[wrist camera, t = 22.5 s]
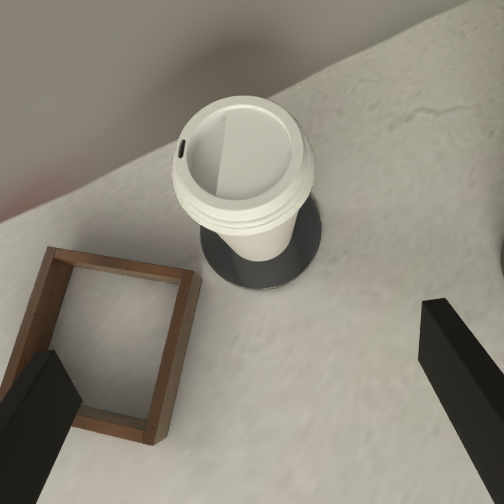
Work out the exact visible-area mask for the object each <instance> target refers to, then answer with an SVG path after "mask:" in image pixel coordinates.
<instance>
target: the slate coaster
mask: <svg viewBox="0 0 504 504" xmlns="http://www.w3.org/2000/svg"><path fill="white" fill-rule="evenodd" d="M320 239H321V222H320V217H319V214H318V211H317V208H316V206H315V204H314V202H313V201H312V199H311V198H310V197H309V195H308V197H307V199H306V201H305V202H304V204H303V205H302V206H301V208H300V209H299V210H298V214H297V218H296V221H295V225H294V229H293V233H292V236H291V239H290V242H289V244H288V246H287V247H286V248H285V250H284V251H283V252H282V253H281V254H279V255H278V256H276V257H275V258H273V259H270V260H267V261H250V260H247V259H245V258H243V257H241V256H239V255H238V254H237V253H236V252H235V251H234V250H233V249H232V248H231V247H230V246H229V245H228V244H227V243H226V242H225V241H224V240H223V239H222V238H221V237H220V236H219V235H218V234H217V233H216V232H215V231H212V230H210V229H207V228H205V227H204V226H202V225H201V226H200V241H201V246H202V250H203V253H204V255H205V258H206V259H207V261H208V263H209V264H210V266H211V267H212V268H213V270H214V271H215V272H216V273H217V274H218V275H219V276H220V277H222V278H223V279H225V280H226V281H227V282H229V283H231V284H233V285H235V286H238V287H240V288H244V289H249V290H269V289H274V288H278V287H281V286H283V285H286V284H288V283H290V282H291V281H293V280H295V279H296V278H297V277H299V276H300V275H301V274H302V273H303V272H304V271H305V270H306V269H307V268H308V267H309V265H310V264H311V262H312V261H313V259H314V257H315V255H316V253H317V250H318V248H319V243H320Z"/></svg>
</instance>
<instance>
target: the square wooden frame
mask: <svg viewBox="0 0 504 504" xmlns="http://www.w3.org/2000/svg"><path fill="white" fill-rule="evenodd" d="M73 266H75V267H81V268H87V269H92V270H98V271H104V272H110V273H115V274H121V275H127V276H132V277H138V278H144V279H149V280H155V281H161V282H167V283H172V284H178V285H179V289H178V294H177V298H176V302H175V306H174V310H173V314H172V319H171V323H170V327H169V331H168V335H167V340H166V344H165V348H164V352H163V356H162V360H161V365H160V369H159V373H158V377H157V381H156V386H155V390H154V394H153V398H152V402H151V406H150V411H149V415H148V419H147V421H146V420H142V419H138V418H134V417H129V416H125V415H121V414H116V413H112V412H108V411H103V410H99V409H95V408H91V407H86V406H82V405H80V408H79V410H78V412H77V414H76V416H75V419H74V421H73V423H72V425H71V426H73V427H77V428H81V429H85V430H89V431H93V432H97V433H101V434H106V435H110V436H114V437H118V438H122V439H126V440H130V441H134V442H138V443H142V444H146V445H151V446H154V445H155V444H157V443H159V442H160V441H162V440H163V439H165V438H166V437H167V434H168V429H169V425H170V420H171V416H172V412H173V407H174V403H175V398H176V394H177V389H178V385H179V380H180V376H181V372H182V367H183V363H184V358H185V354H186V349H187V345H188V340H189V336H190V332H191V327H192V323H193V318H194V314H195V309H196V305H197V301H198V296H199V292H200V287H201V283H202V278H201V277H200V276H199V275H198V274H196V273H195V272H194V271H191V270H185V269H179V268H173V267H167V266H161V265H155V264H149V263H143V262H137V261H132V260H126V259H120V258H114V257H108V256H102V255H96V254H90V253H84V252H78V251H72V250H66V249H60V248H55V247H49V246H48V247H47V249H46V252H45V255H44V258H43V261H42V264H41V267H40V270H39V273H38V276H37V279H36V282H35V285H34V288H33V291H32V294H31V297H30V300H29V303H28V306H27V309H26V312H25V315H24V318H23V321H22V324H21V327H20V330H19V333H18V336H17V339H16V342H15V345H14V348H13V351H12V354H11V357H10V360H9V363H8V366H7V369H6V372H5V375H4V378H3V381H2V384H1V387H0V402H1V401H2V399H3V398H4V396H5V395H6V393H7V392H8V390H9V389H10V388H11V386H12V385H13V383H14V382H15V380H16V379H17V377H18V376H19V374H20V373H21V371H22V370H23V368H24V367H25V365H26V364H27V362H28V361H29V359H30V358H31V357H32V355H33V354H34V352H41V351H47V349H48V346H49V343H50V340H51V336H52V333H53V330H54V327H55V324H56V320H57V317H58V314H59V311H60V308H61V304H62V301H63V298H64V295H65V292H66V288H67V285H68V282H69V279H70V276H71V272H72V269H73Z"/></svg>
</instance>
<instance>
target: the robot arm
mask: <svg viewBox="0 0 504 504" xmlns="http://www.w3.org/2000/svg"><path fill="white" fill-rule="evenodd" d="M502 269H503V274H504V242H503V247H502ZM418 361H419V363H420V364H421V366H422V368H423V370H424V372H425V374H426V376H427V378H428V380H429V381H430V383H431V385H432V387H433V389H434V391H435V393H436V395H437V396H438V398H439V400H440V402H441V404H442V406H443V408H444V410H445V411H446V413H447V415H448V417H449V419H450V421H451V423H452V425H453V426H454V428H455V430H456V432H457V434H458V436H459V438H460V440H461V441H462V443H463V445H464V447H465V449H466V451H467V453H468V455H469V456H470V458H471V460H472V462H473V464H474V466H475V468H476V470H477V471H478V473H479V475H480V477H481V479H482V481H483V483H484V485H485V486H486V488H487V490H488V492H489V494H490V496H491V498H492V500H493V501H494V503H495V504H504V374H503V373H502V372H501V370H500V369H499V368H498V366H497V365H496V364H495V362H494V361H493V360H492V358H491V357H490V356H489V355H488V353H487V352H486V351H485V349H484V348H483V347H482V345H481V344H480V343H479V341H478V340H477V339H476V338H475V336H474V335H473V334H472V332H471V331H470V330H469V328H468V327H467V326H466V324H465V323H464V322H463V321H462V319H461V318H460V317H459V315H458V314H457V313H456V311H455V310H454V309H453V307H452V306H451V305H450V304H449V302H448V301H447V300H446V298H441V299H434V300H426V301H422V311H421V325H420V339H419V353H418ZM81 403H82V399H81V397H80V396H79V394H78V392H77V390H76V388H75V386H74V385H73V383H72V381H71V379H70V377H69V376H68V374H67V372H66V370H65V368H64V366H63V365H62V363H61V361H60V359H59V357H58V355H57V354H56V352H55V350H49V351H41V352H34V354H33V355H32V357H31V358H30V359H29V361H28V362H27V364H26V365H25V367H24V368H23V370H22V371H21V373H20V374H19V376H18V377H17V379H16V380H15V382H14V383H13V385H12V386H11V388H10V389H9V390H8V392H7V393H6V395H5V396H4V398H3V399H2V401H1V402H0V504H36V502H37V500H38V498H39V496H40V494H41V491H42V489H43V487H44V485H45V483H46V480H47V478H48V476H49V474H50V472H51V469H52V467H53V465H54V463H55V461H56V458H57V456H58V454H59V452H60V449H61V447H62V445H63V443H64V441H65V438H66V436H67V434H68V432H69V430H70V427H71V425H72V423H73V421H74V419H75V416H76V414H77V412H78V410H79V408H80V405H81Z"/></svg>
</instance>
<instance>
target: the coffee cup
mask: <svg viewBox="0 0 504 504" xmlns="http://www.w3.org/2000/svg"><path fill="white" fill-rule="evenodd" d="M315 172H316V160H315V154H314V150H313V147H312V144H311V142H310V139H309V137H308V135H307V133H306V132H305V130H304V129H303V127H302V126H301V125H300V124H299V123H298V121H297V120H296V119H295V118H294V117H293V116H291V115H290V114H289V113H288V112H287V111H286V110H284V109H283V108H282V107H280V106H279V105H277V104H276V103H274V102H272V101H269V100H267V99H264V98H260V97H255V96H232V97H227V98H224V99H220V100H218V101H215V102H213V103H211V104H209V105H208V106H206V107H204V108H203V109H201V110H200V111H199V112H198V113H196V114H195V115H194V116H193V117H192V118H191V119H190V121H189V122H188V123H187V124H186V126H185V127H184V129H183V131H182V133H181V135H180V137H179V140H178V143H177V145H176V148H175V152H174V156H173V161H172V180H173V186H174V190H175V193H176V196H177V198H178V201H179V202H180V204H181V206H182V207H183V209H184V210H185V211H186V212H187V214H188V215H189V216H190V217H191V218H192V219H194V220H195V221H196V222H197V223H199V224H200V225H202V226H204V227H205V228H207V229H210V230H212V231H215V232H216V233H217V234H218V235H219V236H220V237H221V238H222V239H223V240H224V241H225V242H226V243H227V244H228V245H229V246H230V247H231V248H232V249H233V250H234V251H235V252H236V253H237V254H238V255H239V256H241V257H243V258H245V259H247V260H250V261H267V260H270V259H273V258H275V257H276V256H278V255H279V254H281V253H282V252H283V251H284V250H285V248H286V247H287V246H288V244H289V242H290V239H291V236H292V233H293V229H294V225H295V221H296V218H297V214H298V210H299V209H300V208H301V206H302V205H303V204H304V202H305V201H306V199H307V197H308V195H309V193H310V191H311V189H312V186H313V183H314V179H315Z"/></svg>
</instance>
